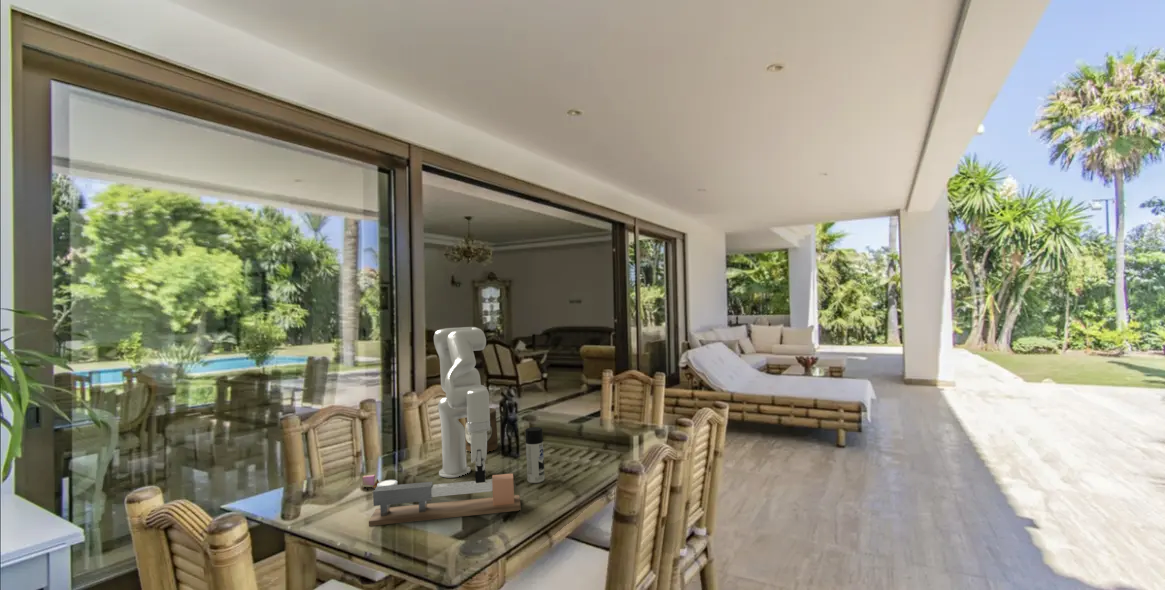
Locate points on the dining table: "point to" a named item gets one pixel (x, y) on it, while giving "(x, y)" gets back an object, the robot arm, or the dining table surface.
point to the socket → (503, 489)
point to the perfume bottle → (370, 480)
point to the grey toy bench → (402, 495)
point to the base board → (442, 511)
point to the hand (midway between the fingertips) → (480, 479)
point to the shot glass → (387, 483)
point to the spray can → (534, 455)
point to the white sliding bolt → (461, 488)
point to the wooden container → (491, 434)
